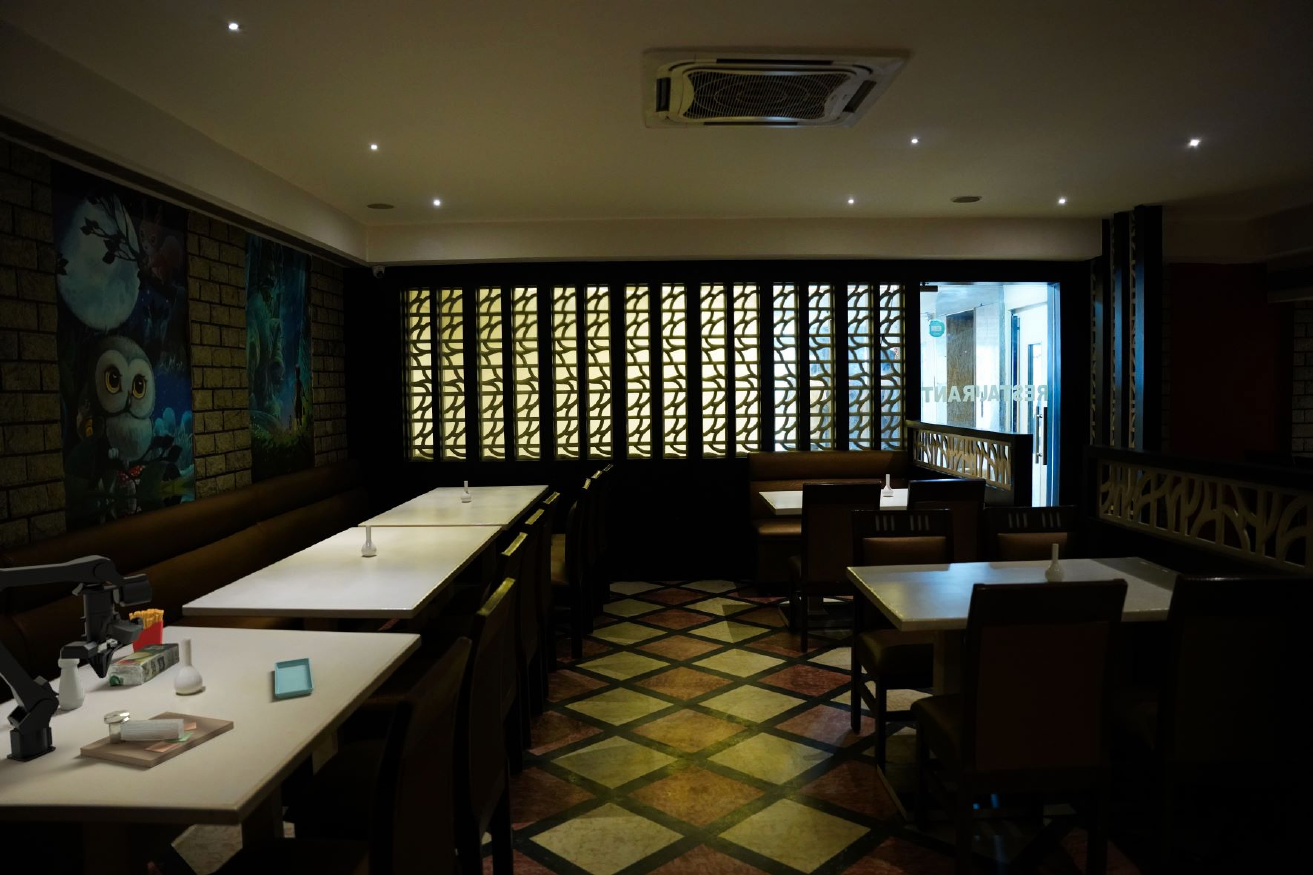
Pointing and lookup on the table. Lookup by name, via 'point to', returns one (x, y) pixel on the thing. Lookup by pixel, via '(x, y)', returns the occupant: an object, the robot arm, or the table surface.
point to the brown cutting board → (159, 742)
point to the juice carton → (144, 664)
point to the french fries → (149, 628)
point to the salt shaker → (70, 685)
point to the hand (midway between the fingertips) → (102, 677)
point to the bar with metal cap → (141, 727)
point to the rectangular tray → (293, 678)
